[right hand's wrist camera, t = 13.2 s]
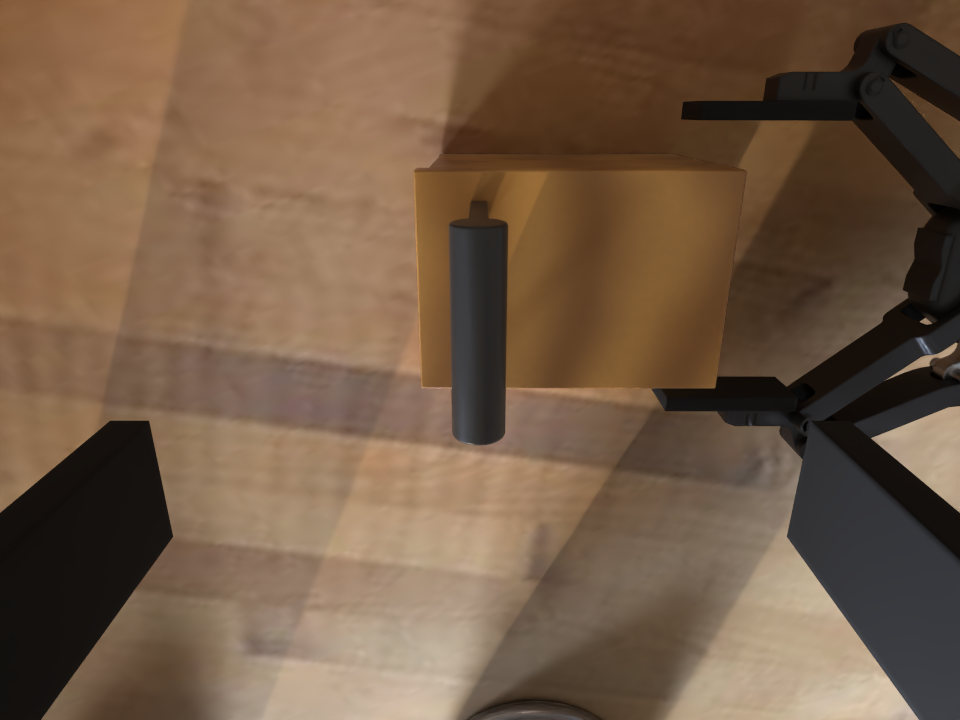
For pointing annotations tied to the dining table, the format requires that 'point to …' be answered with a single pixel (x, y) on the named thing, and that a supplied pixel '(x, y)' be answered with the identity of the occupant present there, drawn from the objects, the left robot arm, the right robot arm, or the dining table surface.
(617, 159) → the chest
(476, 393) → the lid
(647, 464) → the dining table surface
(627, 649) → the dining table surface
